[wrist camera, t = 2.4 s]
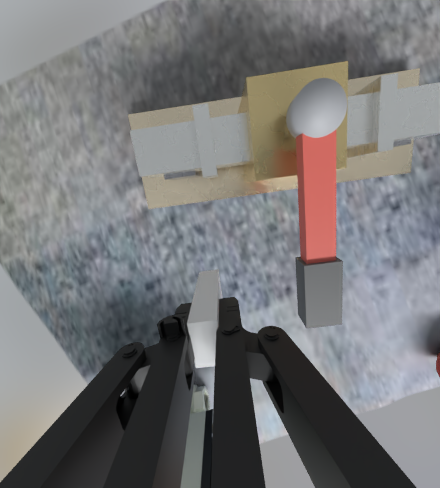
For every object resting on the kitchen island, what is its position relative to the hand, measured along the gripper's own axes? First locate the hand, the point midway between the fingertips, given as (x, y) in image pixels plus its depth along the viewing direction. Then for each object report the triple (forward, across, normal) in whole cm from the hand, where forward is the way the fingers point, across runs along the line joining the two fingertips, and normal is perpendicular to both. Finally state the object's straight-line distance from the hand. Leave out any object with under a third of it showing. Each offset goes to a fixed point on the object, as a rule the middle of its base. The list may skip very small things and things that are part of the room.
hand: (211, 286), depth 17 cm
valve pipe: (+12, +8, +11) cm, 18 cm away
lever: (0, +8, +5) cm, 9 cm away
